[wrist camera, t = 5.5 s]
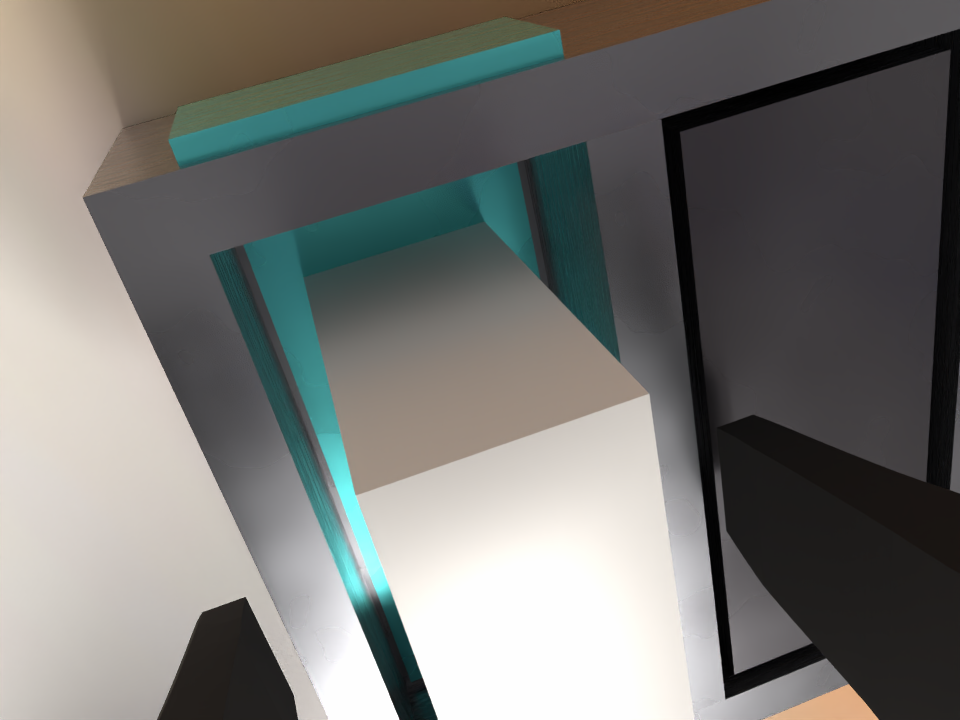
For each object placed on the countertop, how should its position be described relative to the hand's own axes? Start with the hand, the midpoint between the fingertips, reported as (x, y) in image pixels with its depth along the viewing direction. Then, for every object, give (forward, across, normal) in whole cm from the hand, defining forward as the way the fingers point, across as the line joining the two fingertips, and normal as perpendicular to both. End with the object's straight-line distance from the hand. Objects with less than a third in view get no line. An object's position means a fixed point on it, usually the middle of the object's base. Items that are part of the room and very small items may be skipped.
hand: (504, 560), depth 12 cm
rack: (+4, -6, 0) cm, 7 cm away
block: (+3, 0, 0) cm, 3 cm away
